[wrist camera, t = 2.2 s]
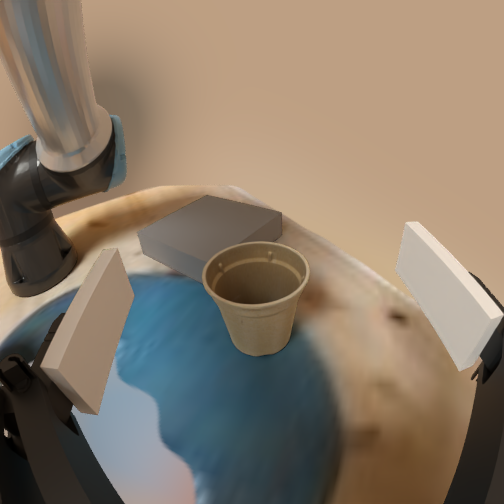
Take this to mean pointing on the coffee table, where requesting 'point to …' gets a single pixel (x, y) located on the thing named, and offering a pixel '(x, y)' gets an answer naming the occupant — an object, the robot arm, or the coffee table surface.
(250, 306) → the flower pot
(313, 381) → the coffee table surface
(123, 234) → the coffee table surface
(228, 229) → the plinth
